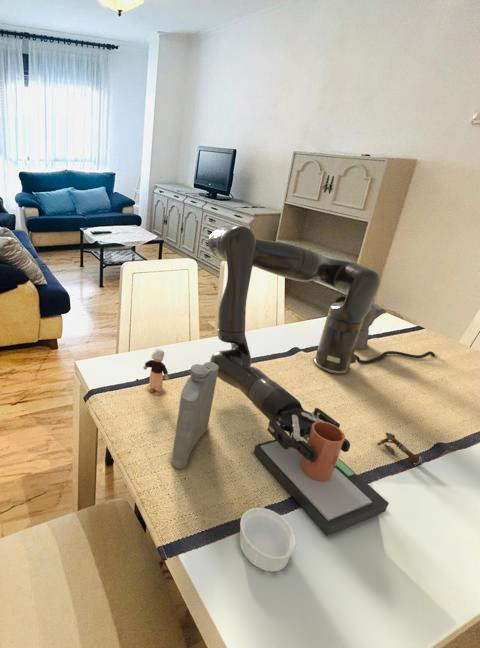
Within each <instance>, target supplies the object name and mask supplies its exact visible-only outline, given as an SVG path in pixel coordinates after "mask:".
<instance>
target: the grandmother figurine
mask: <svg viewBox="0 0 480 648" xmlns="http://www.w3.org/2000/svg"><path fill="white" fill-rule="evenodd" d="M150 356H151V359H150V360H148V361H146V362H144V366H143V370H146V371H147V370H148V368H151V369H150V373H149V385H148V386H149V387H148V392H150V393H153V392H154V393H155V395H157V396H161V395H163V394H165V392H166V391H165V389H164V388H163V380H164V379H165V381H169V380H170V377H169V372H168V369H167V367H166V364H164V363H163V360H164V357H165V352H164V350H163V349H161V348H156V349H155V350H153V352H152V353H151V355H150Z"/></svg>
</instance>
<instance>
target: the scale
mask: <svg viewBox="0 0 480 648" xmlns="http://www.w3.org/2000/svg"><path fill="white" fill-rule="evenodd" d="M308 436H309V435H305V436H303V437H301V441H302V440H304V441H305V442H307V439H308ZM282 438H283V437H282ZM283 440H284V438H283ZM253 455H254V456H255V457H256V458H257V459H258V460H259V461H260V462H261V463H262V465H263V466H264V467H265V468H266V469H267V470H268V471H269V472H270V474H272V476H273V477H274V478H275V479H276V480H277V481H278V482H279V484H280V485H281V486H282V487H283V489H285V490H286V492H287V493H288V495H290V496H291V497H292V498H293V499H294V500H295V502H296V503H297V504H298V505H299V506H300V507H301V508H302V510H303V511H304V512H305V513H306V514H307V515H308V517H309V518H310V519H311V521H313V522H314V523H315V524H316V526H317V527H318V528H319V529H320V530H321V531H322V532H323V533H324V535H325V536H326V537H329V536H330V535H333V534H336V533H337V532H338V533H339V532H340V531H342V530H345V529H347V528H350V527H352V526H355V525H357V524H359V523H361V522H364V521H366V520H369V519H371V518H373V517H376V516H377V515H381V514H383V513H385V512H386V511H387V508H388V506H389V504H390V502H388V501H387V500H386V499H385V497H383V496H382V495H381V494H380V493H378V491H376V490H375V489H374V488H373V487H372V486H371V485H369V484H368V483H367V482H366V481H365V480H364V479H363V478H362V477H360V476H359V475H358V474H357V473H356V472H355V471H353V469H352V468H350V467H349V466H348V465H347V464H346V463H345V462H344V461H342V460H341V459H340V457H339V458H338V460H337V463H336V466H335V469H334V472H333V475H332V477H331V479H330V480H329V481H326V482H319V481H316V480H313V479H311V478H310V477H308V476H307V475H306V474H305V473H304V472H303V471H302V469H301V467H300V463H301V459H302V454H301V453H299V452H298V451H297V450H295V449H293V448H289V449H287V450H286V449H284V448H283V447H282V446H281V445H280V444H279V443H278V442H277V441H276V439H275V438H274V439H272V440H269V441H265V442H260V443H258V444H255V446H254V450H253Z"/></svg>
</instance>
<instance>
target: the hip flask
mask: <svg viewBox="0 0 480 648" xmlns="http://www.w3.org/2000/svg"><path fill="white" fill-rule="evenodd" d="M218 368H219V367H218V365H217V364H215V363H213V362H210V361H208V362H205V363H203V364H192V365H191V366H190V370H189V371H190V376H189V378H188V379H187V380H186V382H185V383H184V386H183V387H182V390H181V393H180V399H179V405H178V413H177V419H176V425H175V432H174V433H175V434H174V441H173V448H172V453H171V461H170V462H171V464H172V466H173V467H174V468H175V469H178V470H179V469H184V468H185V467H187V464H188V461H189V458H190V455H191V453H192V451H193V449H194V447H195V446H196V444H197V442H198V441H199V440H200V439H201V437H202V436H204V435H205V433H206V432H208V429H209V422H210V417H211V412H212V406H213V401H214V397H215V391H216V390H215V389H216V384H217V379H218V377H217V374H218Z"/></svg>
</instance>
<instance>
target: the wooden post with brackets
mask: <svg viewBox="0 0 480 648" xmlns="http://www.w3.org/2000/svg"><path fill="white" fill-rule="evenodd" d="M384 434H385V435H386V437H385V438H383V439H381V440H379V441H378V442H377V443H376V445H377V446H384V447H385V450H386V451H388V452H389V453H390V454H393V455H394V454H395V453H396V452H395V448H392V446H391V445H390V444H394V445H395V447H396V448H398V450H400V452H402V453H404V454H405V455H406V456H407V457H408V458H409V459H410V460H411V461H412V462H413V465H414V467H416V466H418V465H419V464H421V463H422V461H423V457H422V456H418V455H416V454H415V453H413V452H411V451H410V450H409V449H408V448H407V447H406V446H405V445H404V444H403V443H402V442H400V441H399V440H398V439H397V438H396V435H395V434H392V433H391V432H388V431H386V432H385V433H384ZM387 443H388V444H389V443H390V444H389V445H388V444H387Z"/></svg>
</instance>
